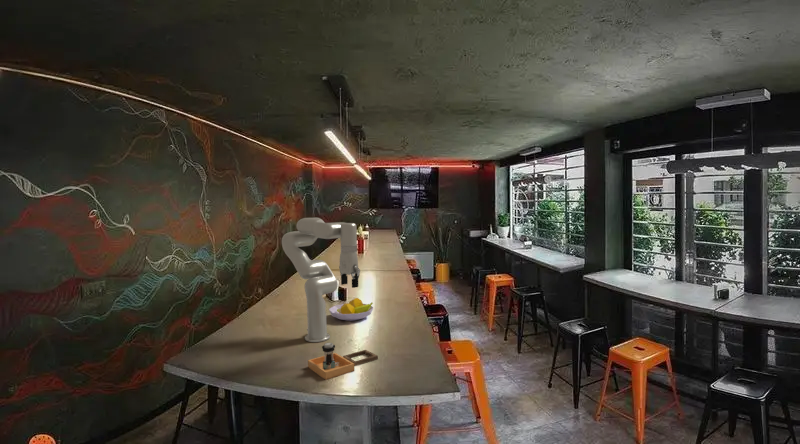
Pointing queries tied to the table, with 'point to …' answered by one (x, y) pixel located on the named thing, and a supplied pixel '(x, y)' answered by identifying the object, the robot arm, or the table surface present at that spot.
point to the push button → (328, 356)
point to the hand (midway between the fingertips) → (349, 285)
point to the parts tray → (341, 369)
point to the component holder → (362, 361)
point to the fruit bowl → (351, 310)
